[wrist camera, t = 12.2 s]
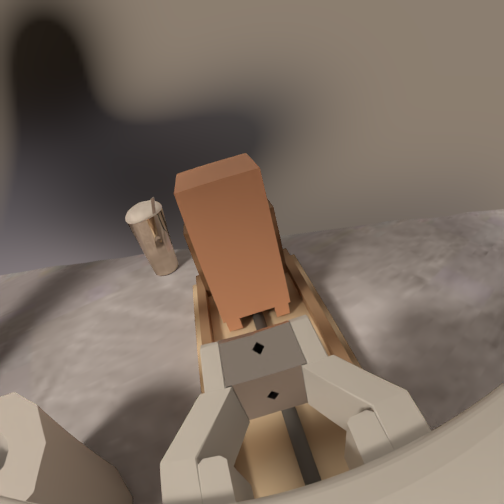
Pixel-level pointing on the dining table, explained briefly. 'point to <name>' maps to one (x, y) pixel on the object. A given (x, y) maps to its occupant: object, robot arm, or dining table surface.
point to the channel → (273, 425)
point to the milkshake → (153, 236)
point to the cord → (295, 430)
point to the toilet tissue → (51, 461)
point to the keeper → (233, 237)
